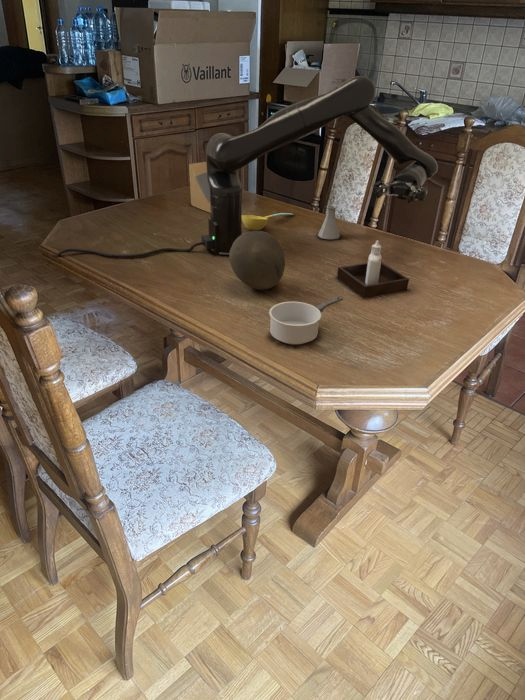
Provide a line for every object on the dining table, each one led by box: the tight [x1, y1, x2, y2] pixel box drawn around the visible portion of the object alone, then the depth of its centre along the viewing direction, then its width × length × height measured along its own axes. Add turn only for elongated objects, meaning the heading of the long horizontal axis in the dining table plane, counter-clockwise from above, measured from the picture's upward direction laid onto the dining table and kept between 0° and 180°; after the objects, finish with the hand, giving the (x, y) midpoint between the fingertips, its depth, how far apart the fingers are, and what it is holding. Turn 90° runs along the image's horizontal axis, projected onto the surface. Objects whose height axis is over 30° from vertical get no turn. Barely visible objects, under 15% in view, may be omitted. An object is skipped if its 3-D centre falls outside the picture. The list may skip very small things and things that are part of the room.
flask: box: [317, 204, 341, 240], centre depth 175 cm, size 7×7×10 cm
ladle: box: [242, 212, 294, 231], centre depth 186 cm, size 9×26×6 cm, turn 143°
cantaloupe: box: [228, 230, 286, 291], centre depth 138 cm, size 14×14×15 cm
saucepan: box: [268, 296, 344, 345], centre depth 122 cm, size 12×20×6 cm, turn 127°
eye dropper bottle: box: [365, 240, 383, 285], centre depth 143 cm, size 4×6×12 cm
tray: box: [336, 261, 410, 299], centre depth 145 cm, size 14×14×3 cm
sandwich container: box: [188, 161, 210, 213], centre depth 197 cm, size 9×15×15 cm, turn 42°
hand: (393, 196), depth 144 cm, fingers open, 8 cm apart
